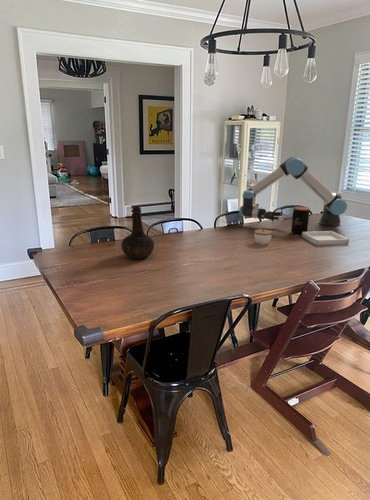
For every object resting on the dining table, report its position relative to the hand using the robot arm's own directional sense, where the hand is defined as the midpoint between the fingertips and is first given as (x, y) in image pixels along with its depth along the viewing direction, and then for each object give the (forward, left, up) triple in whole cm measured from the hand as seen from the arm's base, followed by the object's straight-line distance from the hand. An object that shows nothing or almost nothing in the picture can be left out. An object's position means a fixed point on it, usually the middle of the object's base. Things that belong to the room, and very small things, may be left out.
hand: (287, 217), depth 261 cm
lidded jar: (+27, +28, -10) cm, 40 cm away
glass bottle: (+105, +45, -10) cm, 115 cm away
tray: (-15, +27, -10) cm, 32 cm away
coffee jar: (-7, +7, -10) cm, 14 cm away
